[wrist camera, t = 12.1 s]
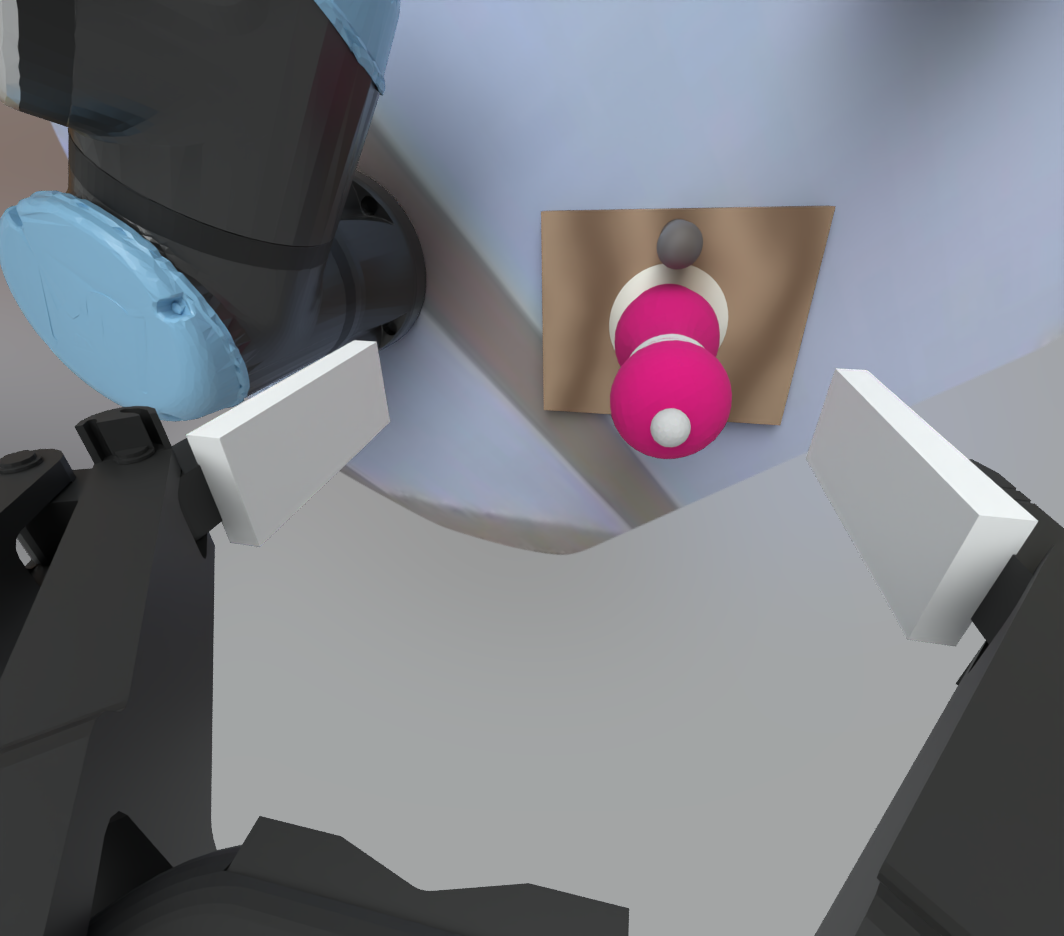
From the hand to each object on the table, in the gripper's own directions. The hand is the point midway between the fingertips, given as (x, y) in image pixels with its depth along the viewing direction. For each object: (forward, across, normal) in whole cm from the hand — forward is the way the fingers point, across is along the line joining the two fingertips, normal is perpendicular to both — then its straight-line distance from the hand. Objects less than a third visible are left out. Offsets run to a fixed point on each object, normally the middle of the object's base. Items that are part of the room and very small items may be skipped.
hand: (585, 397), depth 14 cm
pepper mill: (+27, +4, -4) cm, 27 cm away
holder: (+28, +4, -4) cm, 29 cm away
